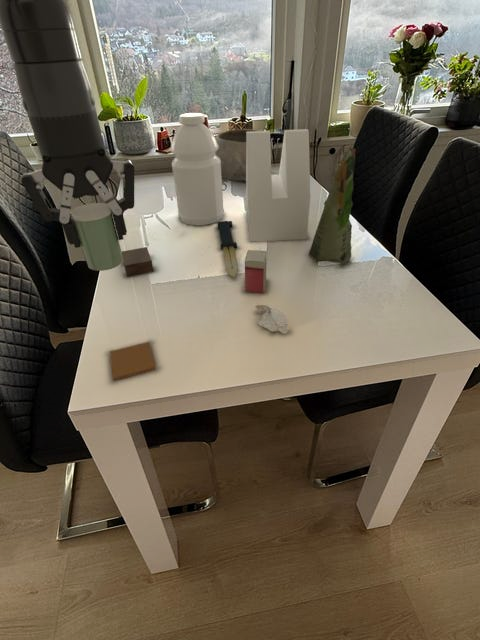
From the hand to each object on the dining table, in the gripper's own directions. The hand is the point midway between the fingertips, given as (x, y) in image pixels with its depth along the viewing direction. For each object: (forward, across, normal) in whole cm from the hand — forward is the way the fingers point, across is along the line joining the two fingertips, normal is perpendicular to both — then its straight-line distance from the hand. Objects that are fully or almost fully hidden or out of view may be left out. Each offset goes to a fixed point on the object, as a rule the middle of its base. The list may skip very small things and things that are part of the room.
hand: (99, 241), depth 54 cm
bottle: (+22, -28, -55) cm, 66 cm away
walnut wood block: (+22, -6, -31) cm, 39 cm away
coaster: (+22, 0, +2) cm, 22 cm away
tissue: (+22, -27, +1) cm, 35 cm away
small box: (+22, -29, -12) cm, 38 cm away
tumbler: (+3, 0, 0) cm, 3 cm away
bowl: (+22, -54, -86) cm, 104 cm away
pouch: (+22, -51, -16) cm, 58 cm away
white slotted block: (+22, -46, -40) cm, 65 cm away
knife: (+22, -29, -31) cm, 48 cm away
